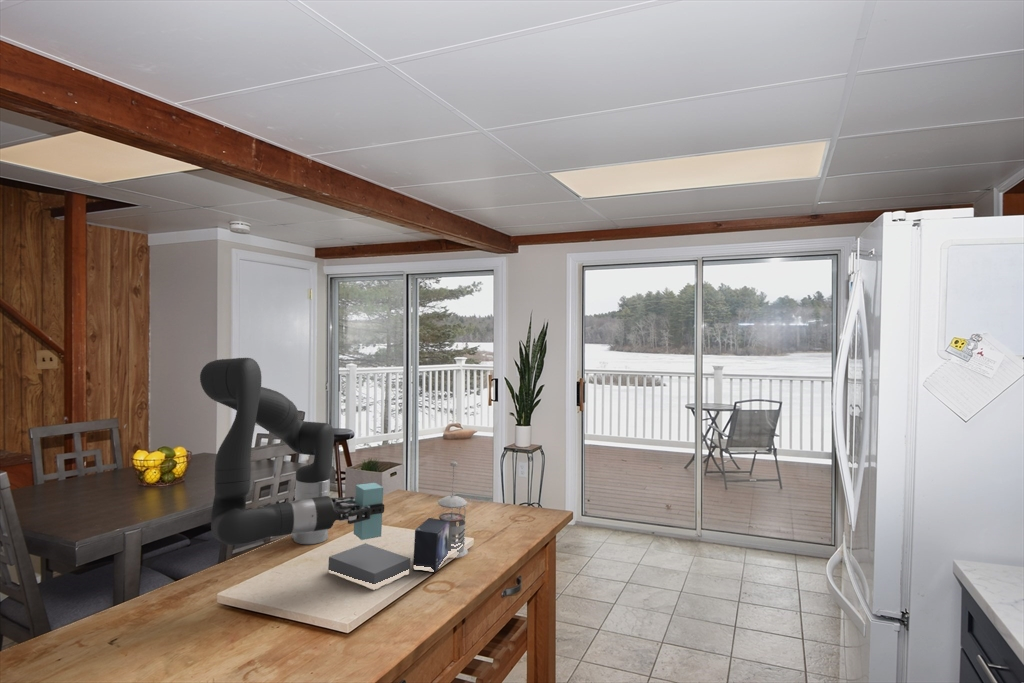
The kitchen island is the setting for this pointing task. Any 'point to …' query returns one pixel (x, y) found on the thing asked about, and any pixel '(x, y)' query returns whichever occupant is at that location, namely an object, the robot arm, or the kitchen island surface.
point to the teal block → (364, 496)
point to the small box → (431, 543)
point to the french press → (454, 520)
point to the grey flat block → (368, 563)
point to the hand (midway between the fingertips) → (378, 504)
